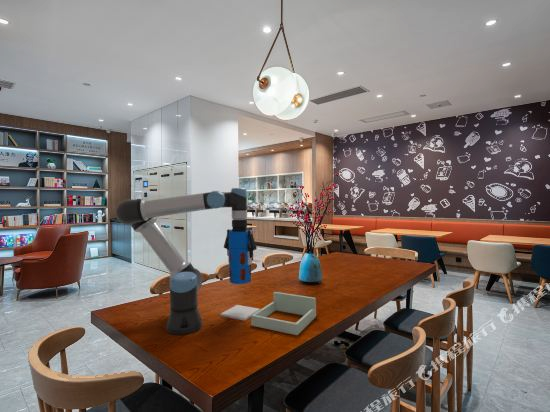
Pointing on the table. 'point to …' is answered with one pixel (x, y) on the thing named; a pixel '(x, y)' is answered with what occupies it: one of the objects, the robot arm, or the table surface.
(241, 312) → the tile
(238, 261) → the thermos
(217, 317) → the table surface
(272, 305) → the frame
